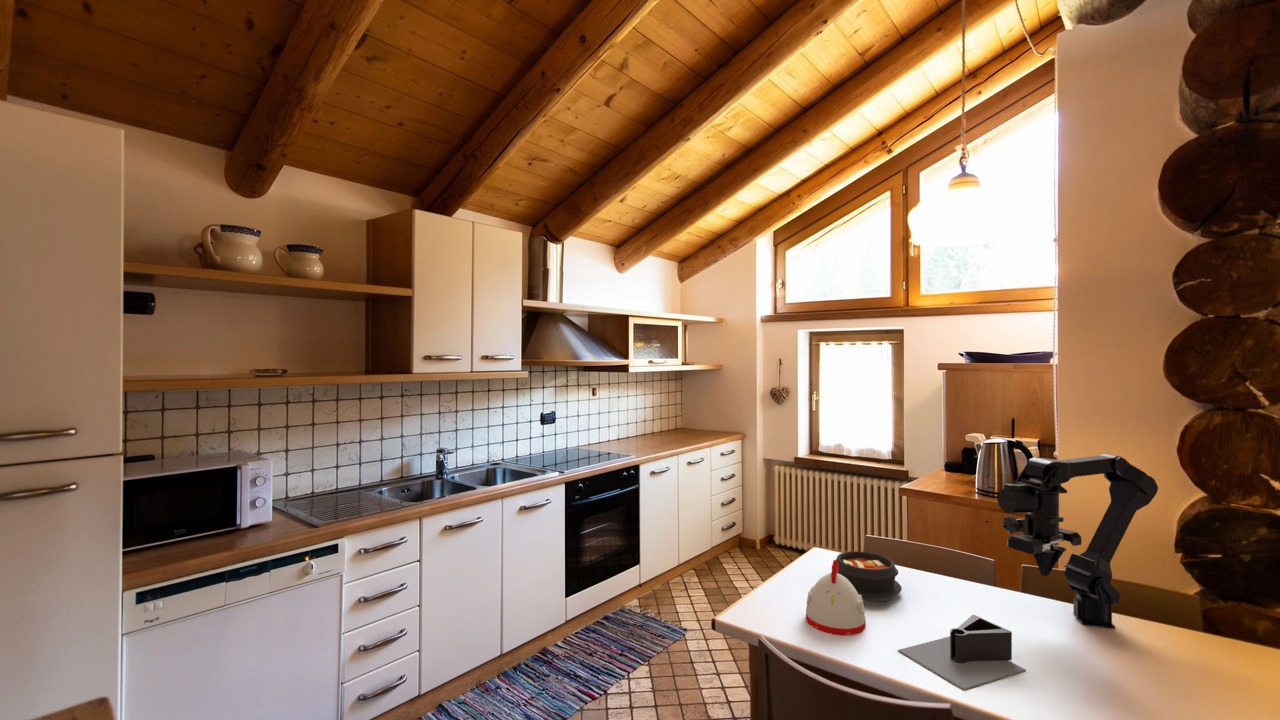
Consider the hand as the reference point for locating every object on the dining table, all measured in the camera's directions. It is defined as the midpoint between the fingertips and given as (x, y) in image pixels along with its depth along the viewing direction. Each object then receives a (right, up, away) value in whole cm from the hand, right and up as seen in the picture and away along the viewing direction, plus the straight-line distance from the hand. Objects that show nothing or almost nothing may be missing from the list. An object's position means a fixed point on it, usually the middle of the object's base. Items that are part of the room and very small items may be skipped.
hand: (1044, 575), depth 137 cm
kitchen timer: (-50, -13, +2) cm, 51 cm away
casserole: (-35, -12, +21) cm, 43 cm away
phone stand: (-20, -9, -12) cm, 25 cm away
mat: (-30, -12, -16) cm, 36 cm away
